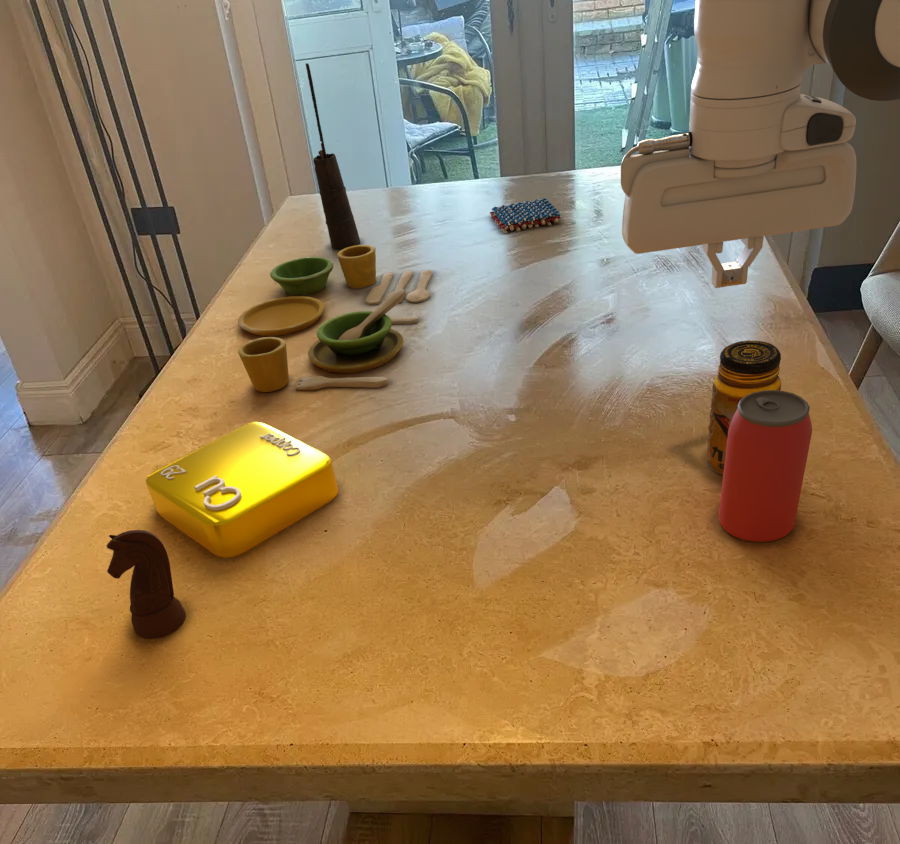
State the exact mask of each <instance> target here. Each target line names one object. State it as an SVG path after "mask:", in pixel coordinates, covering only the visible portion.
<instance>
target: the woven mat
mask: <svg viewBox="0 0 900 844" xmlns="http://www.w3.org/2000/svg"><path fill="white" fill-rule="evenodd" d="M489 214H490V218H491V219H493V221H494V222H495V223H496V224H497V227H498V228H500V230H501V231H502V232H503V233H504V234H508V230H509V231H510V232H512V231H516V232H521V229H522V230H526V229H527V227H528V228H529V229H532V228H533V226H534V228H539V227H540V225H541V226H545V225H547V226H553V225H552V223H553V224H558V223H559V220H560V219H561V214H560V210H557V208H556V207H555V206H554V205H552V203H551V202H550V201H549V200H548V199H547V197H543V198H539V199H537V198H536V199H534V200H532V201H530V200H526V201H523V202H520V201H519V202H518V203H517V202H515V203H513V202H512V203H510V204H508V205H504V204H502V205H499V206H493V207H492V208H491V211H489ZM551 222H552V223H551Z"/></svg>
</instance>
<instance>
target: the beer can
mask: <svg viewBox="0 0 900 844" xmlns="http://www.w3.org/2000/svg"><path fill="white" fill-rule="evenodd" d="M737 408H738V409H737V411H736V412H735V414H734V416H733V418H732V421H731V424H730V426H729V429H728V438H727V447H726V456H725V464H724V473H723V475H722V483H721V491H720V502H719V509H718V521H719V525H720V526H721V527H722V528H723V529H724V531H725V532H726V533H728V534H729V535H730V536H732V537H734V538H737V539H739V540H741V541H744V542H751V543H771V542H775V541H778V540H780V539H782V538H784V537H786V536H788V535H789V534H790V532H791V531H792V530H793V529H794V528H795V524H796V521H797V516H798V515H797V514H798V509H799V504H800V499H801V493H802V488H803V482H804V478H805V472H806V467H807V461H808V456H809V451H810V446H811V439H812V435H813V423H812V420H811V416H810V410H811V407H810V405H809V403H808V401H807V400H806V399H804V398H803V397H801V396H800V395H797V394H795V393H793V392H789V391H785V390H781V391H777V390H766V391H759V392H754V393H751V394H749V395H747V396H745V397H744V398H742V399H741V400H740V401H739V404H738V407H737Z"/></svg>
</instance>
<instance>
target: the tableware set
mask: <svg viewBox="0 0 900 844" xmlns="http://www.w3.org/2000/svg"><path fill="white" fill-rule="evenodd" d="M376 254H377V253H376V247H375V246H374V245H371V244H359V245H356V246H351V247H347V248H345V249H343V250H338V252H337V253H336V256H337V259H338V262H339V266H340V268H341V271H342V274H343V277H344V279H345V282H346V285H347V287H349V288H351V289H362V288H367V287H371V286H372V285H373V284H375V283H376V280H377V268H376V267H377V265H376V264H377V262H376V261H377V259H376V258H377V257H376V256H377V255H376ZM334 266H335V265H334V262H333V261H332V260H331V259H329V258H327V257H323V256H306V257H299V258H294V259H291V260H288V261H285V262H282V263H280V264H277V266H275V267H274V268H272V270H271V271H270V272H269V275H270V278H271V279H272V280H273V281H274V282H276V283H277V284H278V285H279V286H280V287H281V288H282V289H283V290H284V291H285V292H286V293H287V294H289V295H290V296H283V297H277V298H271V299H269V300H266V301H262V302H260V303H257V304H254V305H253V306H250V307H249V308H247V309H246V310H245V311H243V312H242V313H240V315H239V317H238V319H237V323H238V326H239V327H240V328H241V329H242V330H244V331H246V332H248V333H249V334H252V335H254V336H259V337H258V338H255V339H252V340H249V341H247V342H245V343H243V344H242V345H241V346H239V348H238V350H237V353H238V356H239V357H240V360H241V362H242V364H243V366H244V369H245V371H246V373H247V375H248V377H249V379H250V382H251V384H252V386H253V389H254V390H255V391H257V392H260V393H272V392H276V391H278V390H281V389H283V388H285V387H286V386H287V385H288V383H289V381H290V380H289V379H290V377H289V364H288V363H289V362H288V352H287V351H288V350H287V343H286V341H285V339H283V338H281V337H278V336H284V335H290V334H293V333H297V332H299V331H302V330H304V329H307V328H309V327H310V326H312V325H314V324H315V323H317V322H318V321H319V319H320V318H321V316H322V315H323V313H324V311H325V305H324V302H322V301H321V300H320V299H318V298H315V297H311V296H307V295H310V294H315V293H317V292H320V291H321V290H323V289H324V288H325V287H326V285H327V282H328V279H329V276H330V274H331V272H333V269H334ZM433 274H434V273H433V270H431V269H425V270H422V271H421V272H420V275H419V277H418V278H419V279H418V283H417V286H416V288H415V289H414V290H413V291H411V292H409V293H407V292H406V290H405V288H406V287H407V285H408V283H409V282H410V281H411V279H412V278H413V276H414V271H412V270H406V271H404V272H402V274H401V276H400V278H399V281H398V283H397V285H396V287H395V289H394V290H393V291H391V292H388V293H387V295H386V296H385V294H386V292H387V290H388V288H389V286H390V284H391V282H392V280H393V277H394V273H393V272H386V273H384V274H383V275H382V278H381V281H380V284H379V285H376V286H374V287H372V288H371V290H370V291H369V293H368V295H367V296H366V298H365V304H366V305H370V306H376V305H377V307H376V308H375V309H374V310H373V311H371V310H359V311H353V312H352V311H351V312H348V313H347V312H346V313H343V314H339V315H336V316H334V317H332V318H329V319H327V320H326V321H324V322H323V323H321V324H320V325H319V326H318V328H317V330H316V336H317V340H315V342H313V343H312V344H311V346H310V347H309V349H308V351H307V358H308V359H309V360H310V362H311V363H312V364H314V365H315V366H317V367H318V368H319V369H322V370H324V371H326V372H330V373H336V374H355V373H362V372H366V371H369V370H373V369H376V368H379V367H381V366H383V365H385V364H387V363H388V362H390V361H391V360H392V359H394V358H395V357H396V355H397V354H398V353H399V352H400V350H401V349H402V347H403V345H404V337H403V335H402V334H401V333H400V332H399V331H397V330H395V329H393V328H392V325H413V324H417V323H418V322H419V321H420V320H419V317H418V316H397V317H396V316H395V317H394V316H393V317H390V316H389V315H387V313H388V312H390V311H391V310H392V309H393V308H395V307H396V306H397V305H398V304H402V303H403V301H404V300H405V298H406V301H407V302H408V303H412V304H413V303H416V304H417V303H423V302H426V301H428V300H429V299H430V297H431V292H430V291H429V290H428V289H427V286H428V285H429V283H430V281H431V278H432V277H433ZM384 296H385V298H384ZM383 298H384V300H383ZM382 300H383V302H382ZM381 302H382V303H381ZM378 305H379V306H378ZM276 336H277V337H276ZM388 385H389V382H388V378H387V377H385V376H363V377H362V376H361V377H359V376H358V377H335V378H334V377H333V378H332V377H326V376H324V375H315V376H306V377H302V378H300V380H299V381H298V383H297V385H296V386H295V390H296V391H317V390H320V389H321V390H322V389H324V388H331V387H334V388H367V389H368V388H369V389H370V388H376V389H379V388H383V387H386V386H388Z"/></svg>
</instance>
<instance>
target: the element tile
mask: <svg viewBox="0 0 900 844" xmlns="http://www.w3.org/2000/svg"><path fill="white" fill-rule="evenodd" d="M332 462H333V461H332V459H331V458H330V456H329V455H328V454H326V453H325V452H323V451H321V450H319V449H317V448H315V447H313V446H311V445H309V444H307V443H305V442H303V441H301V440H300V439H297V438H295V437H294V436H291V435H289V434H288V433H285V432H283V431H282V430H279V429H278V428H275V427H274V426H271V425H269V424H267V423H264V422H258V421H252V422H248V423H246V424H244V425H241V426H240V427H238V428H236V429H234V430H232V431H230V432H228V433H226V434H224V435H222V436H220V437H218V438H216V439H214V440H212V441H210V442H208V443H206V444H204V445H202V446H201V447H198V448H196V449H194V450H192V451H191V452H188V453H186V454H185V455H183V456H180V457H179V458H177V459H174V460H172V461H170V462H169V463H167V464H164V465H163V466H160V467H159V468H157V469H155V470H154V471H151V473H149V474H148V475H147V477H146V479H145V484H146V487H147V489H148V492H149V495H150V497H151V499H152V502H153V504H154V506H155V509H156V511H157V514H158V515H159V516H160V517H161V518H163V519H164V521H165V520H166V521H167V522H168V523H169V524H171V526H172V525H173V526H174V527H175V528H177V530H179V531H181V532H182V533H183V534H185V535H187V536H188V537H189V538H191V539H192V540H193V541H195V542H196V543H197V544H199V545H201V546H202V547H203V548H204V549H206V550H208V551H209V552H210V553H212V554H213V555H215V556H216V557H218V558H224V559H226V558H235V557H237V556H240V555H242V554H244V553H246V552H248V551H249V550H251V549H253V548H254V547H257V546H258V545H260V544H262V543H264V541H266V540H268V539H270V538H271V537H273V536H275V535H276V534H278V533H280V532H282V531H283V530H285V529H287V528H288V527H290V526H291V525H293V524H296V522H298V521H300V520H302V519H303V518H305V517H307V516H308V515H311V513H314V512H315V511H317V510H319V509H320V508H322V507H324V506H326V505H327V504H329V503H331V502H332V501H333V500H334V499H335V498H336V497H337V496H338V494H339V487H338V483H337V479H336V474H335V469H334V466H333V463H332Z"/></svg>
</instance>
